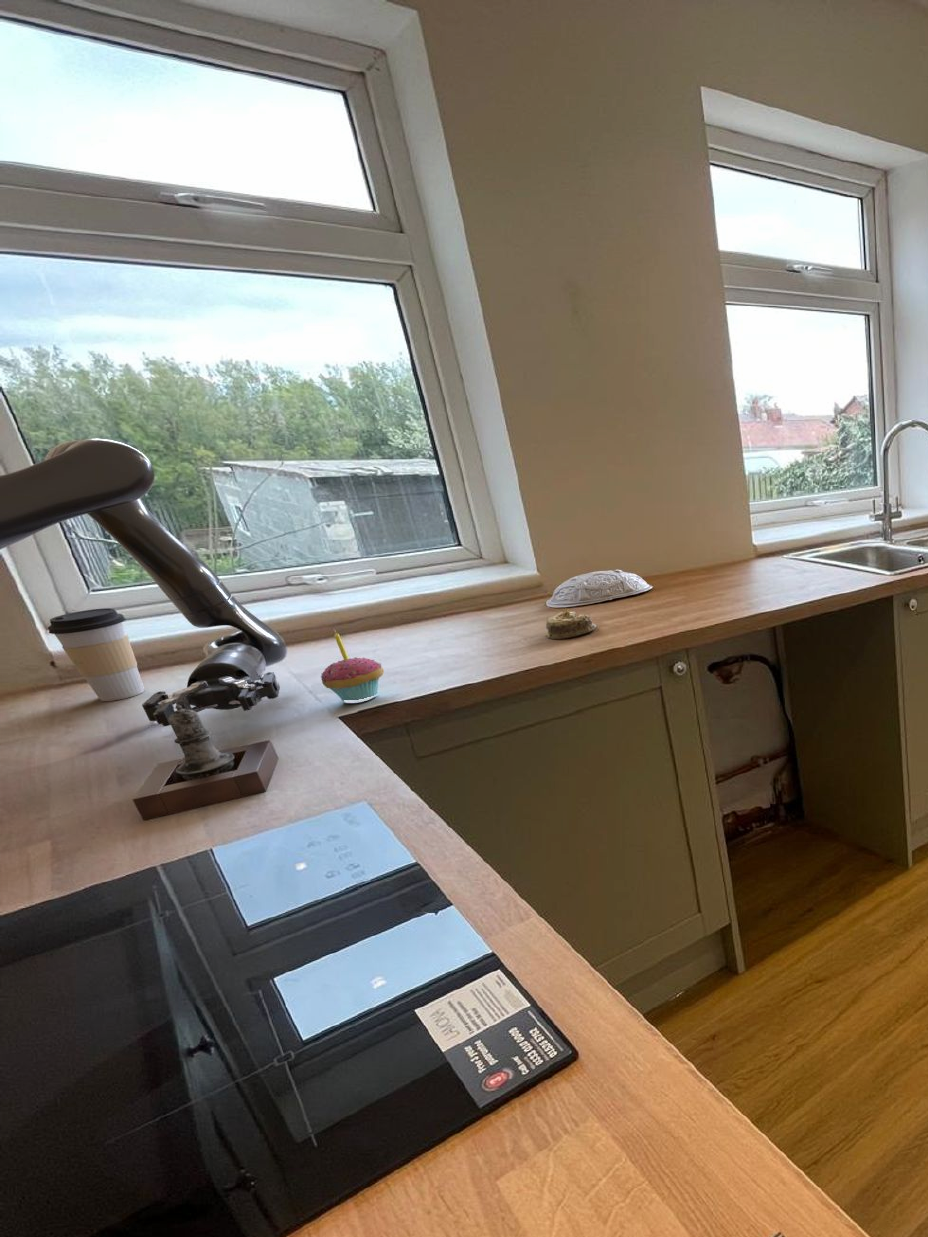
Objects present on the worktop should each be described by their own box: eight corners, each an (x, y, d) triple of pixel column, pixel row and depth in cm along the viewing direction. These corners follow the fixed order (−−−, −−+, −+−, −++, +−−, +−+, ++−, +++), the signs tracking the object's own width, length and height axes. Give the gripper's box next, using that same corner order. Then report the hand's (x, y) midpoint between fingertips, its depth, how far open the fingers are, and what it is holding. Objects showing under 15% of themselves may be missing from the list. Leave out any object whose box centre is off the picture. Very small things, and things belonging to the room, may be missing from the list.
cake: (565, 644, 156) (557, 619, 154) (537, 638, 161) (528, 614, 159) (607, 627, 163) (599, 603, 161) (578, 622, 168) (570, 599, 166)
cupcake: (326, 700, 131) (299, 633, 126) (384, 686, 136) (361, 621, 131) (337, 713, 125) (310, 643, 120) (397, 697, 131) (373, 629, 126)
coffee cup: (71, 704, 134) (27, 622, 128) (131, 684, 143) (92, 606, 137) (114, 706, 133) (71, 622, 127) (173, 685, 141) (135, 607, 135)
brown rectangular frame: (143, 820, 95) (131, 799, 94) (167, 783, 104) (157, 763, 103) (266, 791, 101) (256, 771, 99) (278, 758, 110) (270, 739, 109)
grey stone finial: (243, 772, 106) (206, 692, 102) (247, 785, 102) (209, 703, 98) (186, 787, 103) (145, 705, 98) (188, 802, 99) (145, 717, 94)
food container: (540, 596, 189) (535, 569, 186) (644, 583, 203) (641, 559, 200) (552, 615, 178) (547, 588, 175) (661, 601, 191) (659, 575, 188)
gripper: (155, 665, 114) (122, 699, 101) (275, 645, 121) (259, 674, 108) (177, 711, 117) (148, 749, 104) (294, 689, 124) (279, 722, 111)
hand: (204, 711), depth 106 cm, fingers open, 8 cm apart
